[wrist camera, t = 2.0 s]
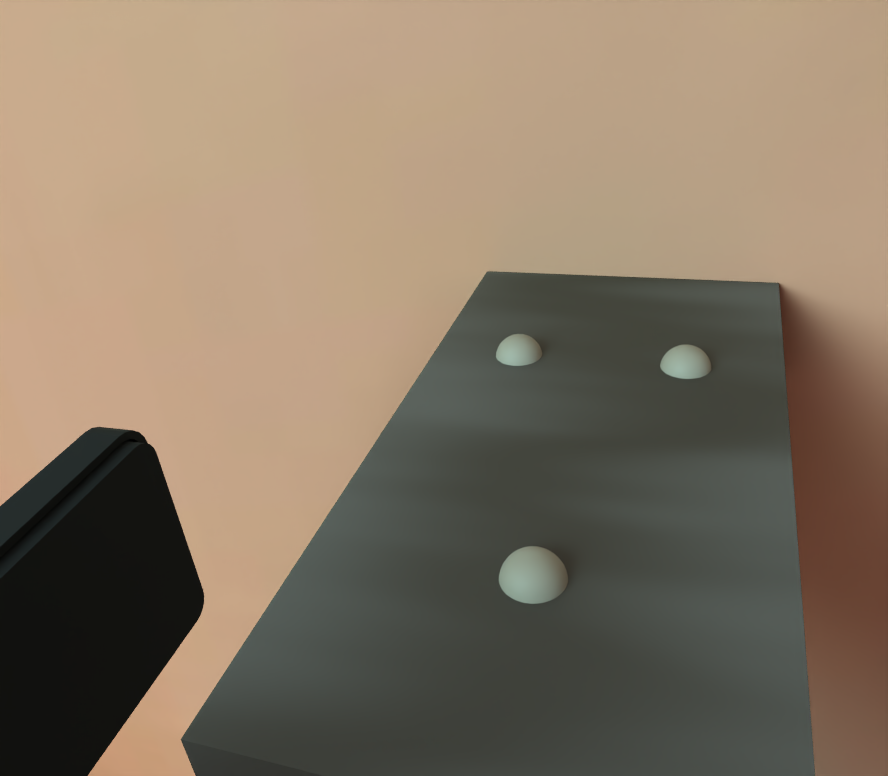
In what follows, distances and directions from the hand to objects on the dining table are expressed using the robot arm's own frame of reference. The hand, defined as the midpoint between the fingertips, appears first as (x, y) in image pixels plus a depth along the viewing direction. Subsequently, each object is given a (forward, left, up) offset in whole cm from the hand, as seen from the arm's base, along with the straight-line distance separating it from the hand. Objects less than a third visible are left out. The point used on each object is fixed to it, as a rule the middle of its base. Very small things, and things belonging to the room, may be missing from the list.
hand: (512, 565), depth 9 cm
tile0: (0, 0, -7) cm, 7 cm away
